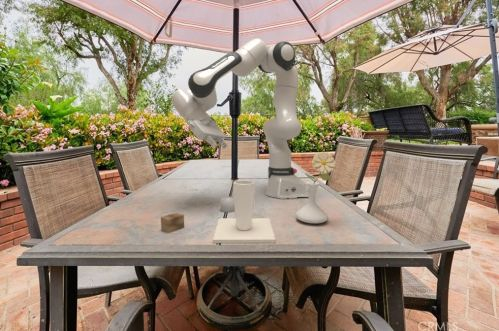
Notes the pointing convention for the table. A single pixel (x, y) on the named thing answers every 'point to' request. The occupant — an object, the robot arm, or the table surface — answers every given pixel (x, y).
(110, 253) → the table surface
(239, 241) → the cream tile
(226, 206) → the grey plastic tub
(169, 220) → the walnut block
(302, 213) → the flower in vase
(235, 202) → the drinking glass
